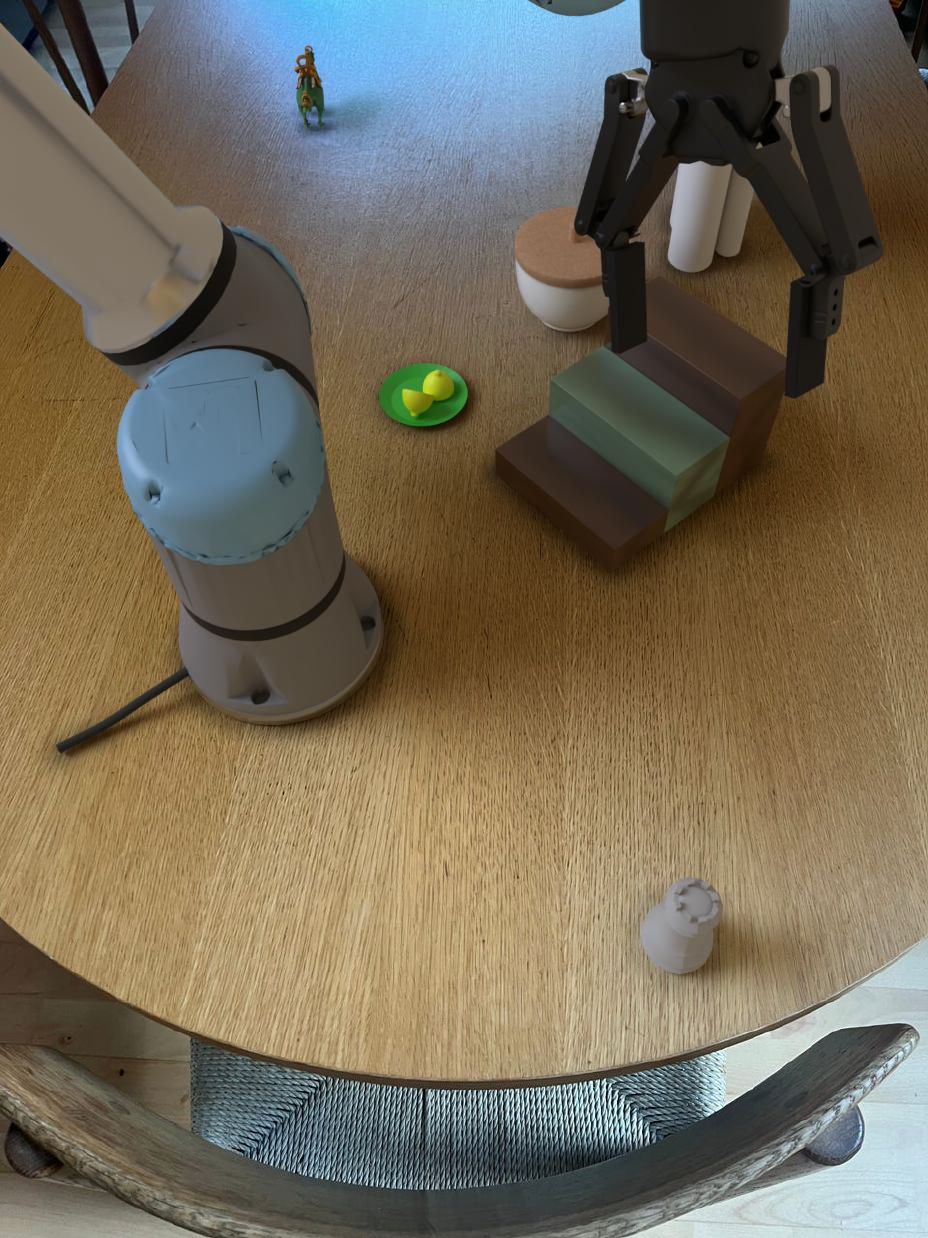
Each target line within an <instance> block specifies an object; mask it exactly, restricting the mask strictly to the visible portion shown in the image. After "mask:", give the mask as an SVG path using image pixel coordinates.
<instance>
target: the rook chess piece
mask: <svg viewBox="0 0 928 1238" xmlns="http://www.w3.org/2000/svg"><path fill="white" fill-rule="evenodd" d="M721 898H722V897H721V895H720V893H719V892H718V891H717V890H716V889H715V887H714V886H713V884H711V883H710V882H708V881H706V880H705V879H702V878H699V877H693V876H689V877H684V878H679V879H678V880H676V881H675V882H673V883H672V884H671V885H670V887H669V888H668V889H667V892H666V894H665V900H661V901H660V902H659V903H657V904H656V905H654V906H653V907H651V908H650V910H649V911H648V912H647V914H646V916H645V917H644V919H643V921H642V923H641V930H640V941H641V943H642V947H643V950H644V952H645V954H646V955H647V957H648V958H649V959H650V961H651V962H652V964H654V965H656V966H658V967H659V968H660V969H662V970H664V971H665V972H667V973H673V974H677V975H683V974H688V973H692V972H695V971H697V970H698V969H699V968H701V967H702V966H703V965H705V964H706V962H707V960H708V959H709V957H710V955H711V953H712V950H713V948H714V937H715V933H714V930H713V929H715V928H716V927H718V925H719V923H720V922H721V920H722V918H723V910H724V904H723V901H722V899H721Z"/></svg>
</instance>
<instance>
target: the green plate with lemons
mask: <svg viewBox="0 0 928 1238" xmlns="http://www.w3.org/2000/svg"><path fill="white" fill-rule="evenodd" d="M378 392H379V393H378V400H379V405H380V407H381V408H382V410H383V411H384V413H385V414H386V415H387V416H389V417H390V418H391V419H393V420H394V421H396V422H398V423H401V424H404V425H407V426H413V427H428V426H434V425H438V424H439V425H440V424H441V423H445V422H446V421H448V420H450V419H452V418H454V417H455V416H456V415H458V413H459V412H460V411H462V409H463V407H464V406H465V404H466V402H467V399H468V387H467V383H466V381H465V380H464V379H463V378H462V376H461V375H460V374H459V373H457V372H456V371H454V370H453V369H452V368H450V367H447V366H445V365H441V364H438V363H429V362H424V363H423V362H422V363H421V362H420V363H414V364H409V365H406V366H402V367H401V368H398V369H397V370H395V371H393V372H392V373H391V374H389V375H388V376H387V377H386V378H385V379H384V381H383V383H381V386H380V388H379V391H378Z"/></svg>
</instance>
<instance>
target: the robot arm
mask: <svg viewBox="0 0 928 1238" xmlns="http://www.w3.org/2000/svg"><path fill="white" fill-rule="evenodd" d="M527 1H528V2H530V3H531V4H533V5H535V6H537V7H539V8H540V9H543V10H546V11H548V12H550V13H552V14H555V15H559V16H565V17H585V16H592V15H595V14H600V13H602V12H605V11H608V10H610V9H612V8H615V7H617V6H619V5H621V4H622V3H623V2H625V1H626V0H527ZM638 3H639V4H638V5H639V35H640V36H639V38H640V51H641V54H642V56H643V57H644V58H645V59H647V60H649V62H650V66H649V72H647V70H646V69H645V68H644V67H636V68H632V69H629V70H625V71H621V72H619V73H614V74H611V75H608V77H606V79H605V81H604V89H603V90H604V92H603V95H604V98H603V117H602V118H603V119H602V122H601V125H600V129H599V132H598V136H597V140H596V142H595V143H596V144H595V146H594V149H593V154H592V157H591V161H590V165H589V168H588V170H587V171H588V172H587V175H586V179H585V182H584V186H583V189H582V193H581V196H580V198H579V199H580V200H579V203H578V206H577V207H578V210H577V213H576V217H575V220H574V229H575V231H576V233H577V234H578V235H580V236H584V235H588V236H589V237H591V238H592V239H594V240H595V243H596V245H597V247H598V248H599V249H600V251H601V268H602V279H603V280H602V287H603V292H604V295H605V297H609V311H610V331H611V351H612V352H614V353H618V354H621V353H623V352H625V351H627V350H629V349H632V348H634V347H636V346H638V345H640V344H642V343H645V342H647V309H646V283H647V279H646V278H647V277H646V276H647V275H646V274H647V273H646V243H645V241H639V240H634V241H633V242H632V243H630V244H629V239H632V238H633V239H634V238H637V237H639V236H641V234H642V233H641V232H639V228H640V226H641V225H642V224H643V222H644V220H645V219H646V218H647V216H648V214H649V212H650V211H651V209H652V208H653V206H654V204H655V203H656V201H657V200H658V198H659V197H660V195H661V193H662V192H663V190H664V188H665V187H666V185H667V184H668V182H669V181H670V179H671V177H672V176H673V174H674V173H675V171H676V170H677V168H678V167H679V163H680V164H692V163H695V162H698V161H702V162H704V163H707V164H709V165H711V166H722V167H723V166H726V165H729V164H731V165H732V166H733V168H734V170H735V171H736V173H737V174H738V175H739V176H741V177H743V178H746V179H747V180H748V181H749V182H750V184H751V186H752V188H753V189H754V192H755V194H756V196H757V198H758V199H759V201H760V203H761V205H762V206H763V207H764V210H765V211H766V213H767V214H768V216H769V218H770V220H771V221H772V223H773V225H774V226H775V228H776V230H777V231H778V233H779V235H780V236H781V238H782V240H783V242H784V243H785V244H786V247H787V248H788V250H789V252H790V253H791V255H792V257H793V258H794V260H795V261H796V263H797V265H798V267H799V268H800V270H801V272H802V273H803V275H802V276H800V277H798V278H796V279H793V280H792V281H790V284H789V285H790V286H789V302H788V303H789V304H788V305H789V306H788V321H787V338H786V339H787V340H786V355H785V356H786V374H785V391H784V394H783V397H787V398H791V399H794V400H796V399H798V398H800V397H801V396H803V395H805V394H807V393H808V392H811V391H813V390H814V389H816V388H818V387H819V386H822V385H823V384H825V373H826V372H825V371H826V362H827V361H826V360H827V347H828V338H829V337H832V336H833V335H835V334H837V333H838V331H839V329H840V326H841V325H842V312H843V304H844V303H843V301H844V293H845V292H844V289H845V280H846V277H847V276H850V275H852V274H854V273H856V272H859V271H861V270H862V269H865V268H867V267H869V266H871V265H873V264H875V263H876V262H878V261H880V260H881V259H882V257H883V256H884V251H885V249H884V244H883V242H882V238H881V235H880V233H879V232H880V231H879V228H878V225H877V223H876V219H875V217H874V213H873V210H872V208H871V205H870V200H869V197H868V195H867V192H866V188H865V186H864V183H863V179H862V176H861V173H860V170H859V167H858V164H857V160H856V158H855V154H854V151H853V148H852V146H851V145H852V144H851V142H850V139H849V136H848V134H847V130H846V127H845V124H844V123H845V122H844V120H843V117H842V114H841V76H840V71H839V69H838V67H837V66H835V65H834V64H831V63H830V64H825V65H823V66H820V67H816V68H812V69H809V70H806V71H803V72H800V73H799V72H798V73H795V74H790V75H786V72H785V70H784V65H783V61H782V52H783V51H782V50H783V47H784V44H785V41H786V39H787V36H788V33H789V30H790V13H791V12H790V11H791V0H639V2H638ZM782 106H783V107H782ZM781 108H782V110H781V114H782V116H783V117H784V118H785V119H788V120H789V121H790V128H791V133H792V137H793V141H794V145H795V148H796V150H797V154H798V157H799V160H800V163H801V166H802V169H803V172H804V174H803V172H802V171H801V168H800V167H799V165H798V164H797V161H796V160H795V159H794V157H793V154H792V152H793V144H792V142H791V140H790V138H789V137H788V135H787V134H786V132H785V130H784V128H783V126H782V125H781V123H780V122H779V120H778V119H777V117H776V116H777V115H778V113H779V111H780V109H781ZM648 110H649V112H650V114H651V116H652V118H653V119H654V123H653V125H652V127H651V129H650V130H649V132H648V134H647V136H646V137H645V139H644V140H643V143H642V145H641V146H640V147H639V150H638V152H637V155H638V156H639V158H638V159H637V161H636V162H635V165H634V166H633V168H632V170H631V171H630V169H631V166H632V163H633V159H634V157H635V154H636V151H637V147H638V145H639V141H640V138H641V136H642V132H643V129H644V125H645V121H646V117H647V112H648ZM759 142H760V143H761V145H762V147H761V148H758V149H756V147H757V146H758V144H759ZM0 238H1V239H2V240H4V241H5V242H6V243H7V244H8V245H9V246H11V247H12V249H14V250H15V251H16V252H18V253H19V254H20V255H21V256H22V257H24V258H25V259H26V260H27V261H29V263H31V264H32V265H33V266H34V267H35V268H37V269H38V271H40V272H41V273H43V275H45V276H46V277H47V278H48V279H49V280H51V281H52V282H53V283H54V284H55V285H56V286H58V287H59V288H60V290H62V291H64V292H65V293H66V295H68V296H69V297H71V298H72V299H73V300H74V301H75V302H77V303H78V304H79V305H80V307H81V313H82V315H81V316H82V330H83V331H82V332H83V334H84V336H85V339H86V340H87V341H88V343H89V345H91V346H92V347H93V348H95V350H97V351H98V352H99V353H101V354H102V355H103V356H104V357H105V358H107V359H108V360H109V361H110V362H111V363H113V364H114V365H115V366H117V367H118V368H119V369H120V370H121V371H122V372H123V373H125V374H126V375H127V376H128V377H130V378H131V379H132V380H133V381H134V382H135V383H136V384H137V386H138V388H139V389H136V390H135V391H133V393H132V395H131V396H130V398H129V399H128V401H127V403H126V405H125V407H124V410H123V412H122V414H121V416H120V420H119V424H118V428H117V433H116V453H117V459H118V465H119V469H120V472H121V473H120V474H121V478H122V482H123V487H124V491H125V492H126V494H127V496H128V497H129V500H130V503H131V508H132V509H133V511H134V513H135V514H136V515H137V518H138V519H139V522H141V523H142V525H143V526H144V528H145V530H146V532H147V534H148V536H149V538H150V540H151V542H152V544H153V546H154V548H155V550H156V552H157V554H158V557H159V559H160V561H161V563H162V565H163V567H164V569H165V572H166V574H167V575H168V577H169V579H170V581H171V583H172V586H173V587H174V590H175V592H176V594H177V596H178V597H179V600H180V607H179V621H178V630H177V631H178V632H177V633H178V634H177V637H178V638H177V639H178V647H179V654H180V658H181V662H182V665H183V667H182V668H181V669H179V670H177V671H176V672H175V673H173V674H171V675H170V676H168V677H167V678H165V679H164V680H162V681H160V682H159V683H158V684H156V685H155V686H152V687H151V688H149V689H148V690H146V691H145V692H144V693H142V694H141V695H139V696H138V697H136V698H134V699H133V700H132V701H130V702H129V703H127V704H126V705H124V706H123V707H121V708H120V709H119V710H117V711H116V712H114V713H112V714H111V715H109V716H108V717H106V718H104V719H103V720H101V721H99V722H98V723H96V724H94V725H92V726H90V727H89V728H87V729H84V730H83V731H80V732H79V733H77V734H74V735H73V736H71V737H69V738H67V739H64V740H62V741H60V742H58V743H56V744H55V747H56V749H57V752H58V753H60V754H62V753H64V752H66V751H68V750H70V749H72V748H75V747H76V746H79V745H80V744H82V743H84V742H86V741H88V740H90V739H93V738H95V737H96V736H98V735H100V734H103V732H105V731H106V730H108V729H110V728H112V727H113V726H115V725H116V724H118V723H120V722H121V721H123V720H124V719H126V718H127V717H128V716H130V715H131V714H133V713H134V712H136V711H137V710H139V709H140V708H142V707H143V706H145V705H146V704H147V703H149V702H150V701H152V700H154V699H155V698H156V697H158V696H161V694H163V693H165V692H166V691H167V690H169V689H171V688H172V687H174V686H175V685H176V684H178V683H180V682H182V681H183V680H184V679H186V678H189V679H190V681H191V683H192V685H193V687H194V688H195V690H196V692H197V693H198V694H199V695H200V696H201V697H202V698H203V700H204V701H205V702H206V703H208V704H209V705H210V706H211V707H212V708H214V709H215V710H217V711H219V712H220V713H222V714H224V715H226V716H228V717H230V718H233V719H235V720H238V721H241V722H244V723H250V724H255V725H264V726H280V725H281V726H282V725H290V724H296V723H301V722H306V721H307V720H311V719H314V718H317V717H319V716H321V715H324V714H326V713H328V712H330V711H332V710H334V709H335V708H337V707H339V705H342V703H344V702H346V701H347V700H349V698H351V697H352V696H353V695H354V694H355V693H356V692H357V691H359V689H360V688H361V687H362V686H363V685H364V684H365V682H366V681H367V680H368V679H369V677H370V675H371V674H372V672H373V670H374V669H375V667H376V665H377V662H378V661H379V658H380V655H381V653H382V648H383V645H384V636H385V625H384V617H383V611H382V605H381V602H380V599H379V596H378V593H377V591H376V589H375V587H374V586H373V584H372V582H371V580H370V579H369V577H368V575H367V574H366V573H365V572H364V570H363V569H362V568H361V567H360V566H359V565H358V563H356V561H355V560H354V559H353V558H352V557H351V556H350V553H348V552H347V551H346V550H345V548H344V544H343V540H342V535H341V530H340V526H339V520H338V516H337V511H336V507H335V502H334V499H333V498H334V497H333V491H332V486H331V480H330V475H329V468H328V462H327V453H326V447H325V439H324V435H323V433H324V432H323V426H322V420H321V419H322V418H321V410H320V400H319V392H318V385H317V379H316V372H315V364H314V354H313V347H312V346H313V345H312V322H311V315H310V314H311V313H310V309H309V306H308V302H307V301H306V300H305V294H304V291H303V289H302V287H301V284H300V281H299V278H298V276H297V274H296V272H295V269H294V268H293V266H292V265H291V264H290V262H289V260H288V259H287V257H285V256H284V254H283V252H281V251H280V250H279V249H278V248H277V247H276V246H275V245H274V244H273V243H272V242H270V241H269V240H268V239H267V238H265V237H263V235H260V234H259V233H257V232H255V231H253V230H251V229H249V228H247V227H245V226H242V225H240V224H239V225H237V226H236V227H235V226H234V227H233V226H231V225H226V224H225V222H224V221H222V220H221V219H220V218H219V217H218V216H217V215H216V213H215V212H213V211H212V210H211V209H210V208H208V207H206V206H204V205H201V204H174V203H173V202H172V201H171V200H170V199H169V198H168V197H167V196H166V195H165V194H164V193H163V192H162V191H161V190H160V189H159V188H158V186H157V185H155V184H154V182H152V180H151V179H150V178H149V177H148V175H146V174H145V173H144V172H143V171H142V169H141V168H139V166H138V165H137V164H135V163H134V162H133V160H132V159H131V158H130V157H129V156H128V155H127V154H126V153H125V152H124V151H123V150H122V149H121V148H120V147H119V146H118V145H117V143H115V141H114V140H113V139H112V138H111V137H110V136H109V135H108V134H107V133H106V132H105V131H104V130H103V129H102V128H101V127H100V125H99V124H97V122H96V121H95V120H93V118H92V117H91V116H90V115H89V114H88V113H87V112H86V111H85V110H84V109H83V108H82V107H81V105H79V104H78V102H76V100H74V98H73V97H72V96H71V95H70V94H69V93H68V92H67V91H66V90H65V89H64V88H63V87H62V86H61V84H60V83H58V82H57V80H56V79H55V78H53V77H52V75H51V74H50V73H49V72H48V71H47V70H46V69H45V68H44V67H43V66H42V65H41V64H40V62H39V61H37V60H36V59H35V57H34V56H32V54H31V53H29V51H28V50H27V49H26V48H25V47H24V46H23V45H22V44H21V43H20V42H19V41H18V40H17V39H16V37H15V36H13V35H12V33H10V31H9V30H8V29H7V28H6V27H5V26H4V25H3V24H2V23H1V22H0Z"/></svg>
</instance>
